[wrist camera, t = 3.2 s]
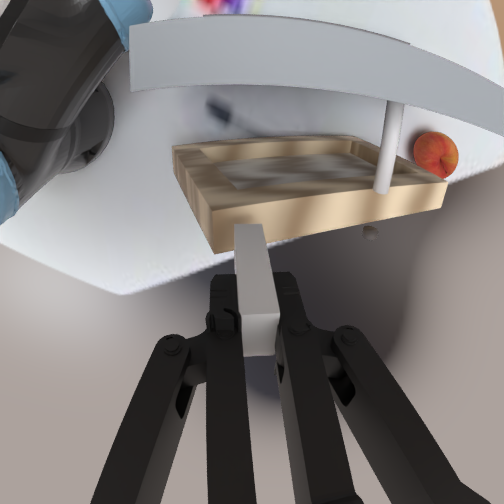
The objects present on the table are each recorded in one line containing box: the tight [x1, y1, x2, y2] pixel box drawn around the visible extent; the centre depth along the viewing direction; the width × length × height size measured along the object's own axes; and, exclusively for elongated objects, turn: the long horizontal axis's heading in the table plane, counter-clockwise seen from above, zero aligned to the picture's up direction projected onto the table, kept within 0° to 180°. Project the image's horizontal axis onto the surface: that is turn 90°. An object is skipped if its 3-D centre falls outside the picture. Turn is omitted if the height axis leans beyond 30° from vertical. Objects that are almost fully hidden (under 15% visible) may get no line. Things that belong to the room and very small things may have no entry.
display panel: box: [129, 14, 504, 194], centre depth 21 cm, size 28×15×30 cm, turn 88°
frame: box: [172, 136, 448, 254], centre depth 27 cm, size 24×4×18 cm, turn 88°
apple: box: [413, 132, 458, 179], centre depth 36 cm, size 7×7×8 cm
